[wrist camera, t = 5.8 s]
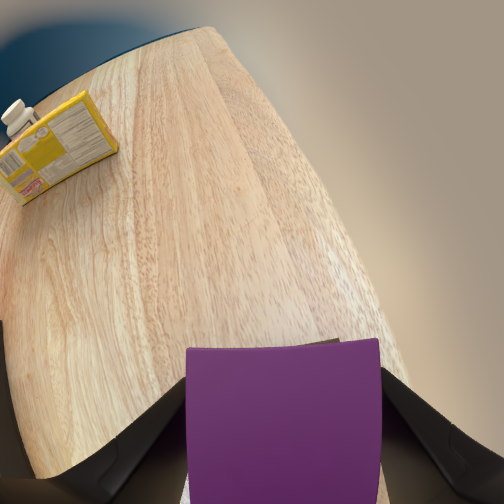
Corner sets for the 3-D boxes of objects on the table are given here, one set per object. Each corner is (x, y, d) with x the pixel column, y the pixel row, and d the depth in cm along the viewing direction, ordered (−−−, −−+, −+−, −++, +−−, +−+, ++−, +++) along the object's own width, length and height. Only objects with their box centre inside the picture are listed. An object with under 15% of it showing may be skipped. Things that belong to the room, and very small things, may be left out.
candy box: (119, 141, 27) (87, 87, 19) (118, 152, 26) (83, 96, 18) (24, 195, 26) (-11, 159, 19) (21, 207, 26) (-17, 171, 18)
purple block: (317, 450, 10) (366, 559, 2) (253, 452, 10) (196, 563, 2) (316, 361, 12) (379, 337, 4) (252, 364, 12) (185, 347, 4)
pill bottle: (38, 144, 32) (8, 105, 23) (59, 132, 32) (29, 89, 23) (26, 167, 30) (-8, 128, 21) (47, 156, 29) (12, 111, 20)
